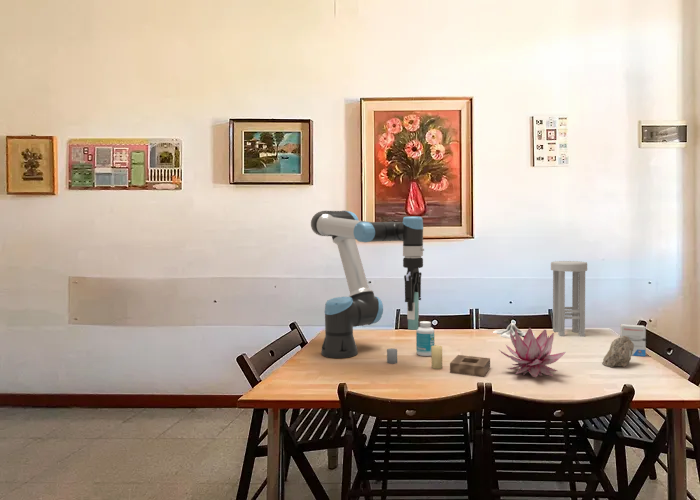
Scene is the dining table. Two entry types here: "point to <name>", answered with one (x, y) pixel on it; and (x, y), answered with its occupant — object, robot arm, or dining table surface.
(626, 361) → the rock
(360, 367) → the dining table surface
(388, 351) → the short pin
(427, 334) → the pill bottle
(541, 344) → the decorative flower
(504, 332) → the cloth
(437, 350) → the medium pin
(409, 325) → the long pin
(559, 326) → the stool
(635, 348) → the ink box
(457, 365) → the socket block
